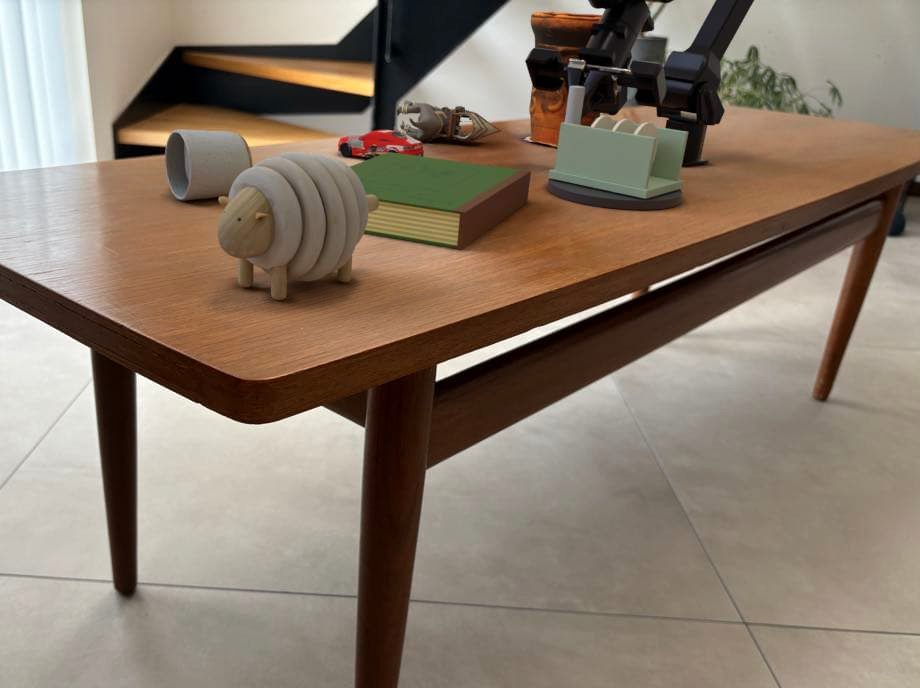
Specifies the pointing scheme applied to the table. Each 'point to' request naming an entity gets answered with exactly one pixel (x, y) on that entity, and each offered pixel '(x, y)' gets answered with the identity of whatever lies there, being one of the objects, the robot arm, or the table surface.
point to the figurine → (443, 122)
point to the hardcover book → (439, 197)
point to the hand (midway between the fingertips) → (569, 126)
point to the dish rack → (618, 153)
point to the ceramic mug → (205, 162)
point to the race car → (379, 144)
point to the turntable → (612, 197)
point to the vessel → (568, 38)
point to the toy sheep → (294, 219)
